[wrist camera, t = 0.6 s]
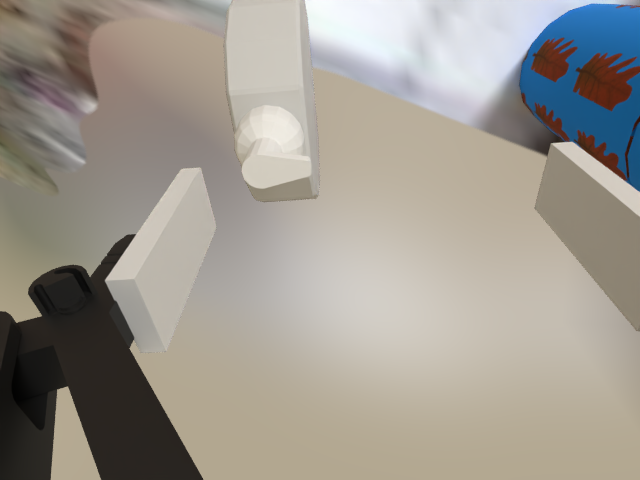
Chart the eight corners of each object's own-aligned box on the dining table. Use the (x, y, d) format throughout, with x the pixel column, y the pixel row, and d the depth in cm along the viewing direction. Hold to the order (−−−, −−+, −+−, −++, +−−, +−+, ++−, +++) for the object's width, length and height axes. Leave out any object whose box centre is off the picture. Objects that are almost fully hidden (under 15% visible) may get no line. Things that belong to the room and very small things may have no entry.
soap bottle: (323, 160, 44) (322, 280, 27) (274, 163, 44) (243, 284, 27) (308, -17, 35) (293, 2, 18) (247, -11, 35) (176, 13, 18)
